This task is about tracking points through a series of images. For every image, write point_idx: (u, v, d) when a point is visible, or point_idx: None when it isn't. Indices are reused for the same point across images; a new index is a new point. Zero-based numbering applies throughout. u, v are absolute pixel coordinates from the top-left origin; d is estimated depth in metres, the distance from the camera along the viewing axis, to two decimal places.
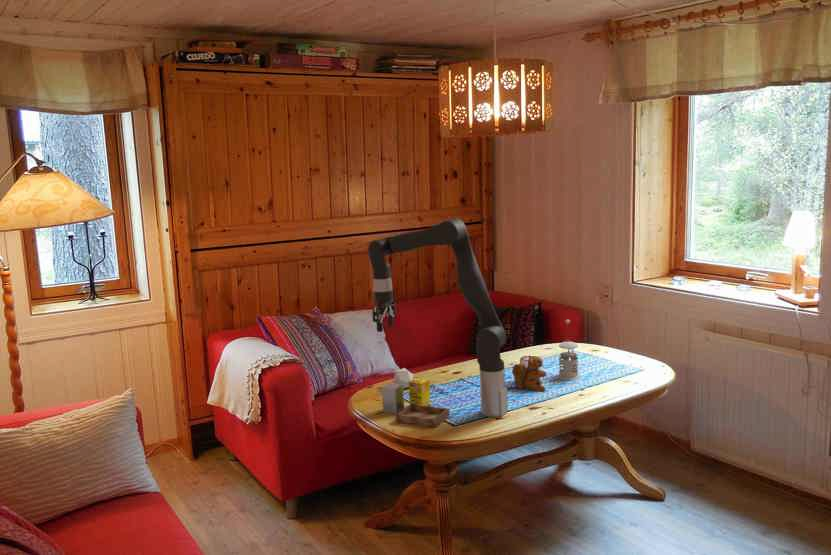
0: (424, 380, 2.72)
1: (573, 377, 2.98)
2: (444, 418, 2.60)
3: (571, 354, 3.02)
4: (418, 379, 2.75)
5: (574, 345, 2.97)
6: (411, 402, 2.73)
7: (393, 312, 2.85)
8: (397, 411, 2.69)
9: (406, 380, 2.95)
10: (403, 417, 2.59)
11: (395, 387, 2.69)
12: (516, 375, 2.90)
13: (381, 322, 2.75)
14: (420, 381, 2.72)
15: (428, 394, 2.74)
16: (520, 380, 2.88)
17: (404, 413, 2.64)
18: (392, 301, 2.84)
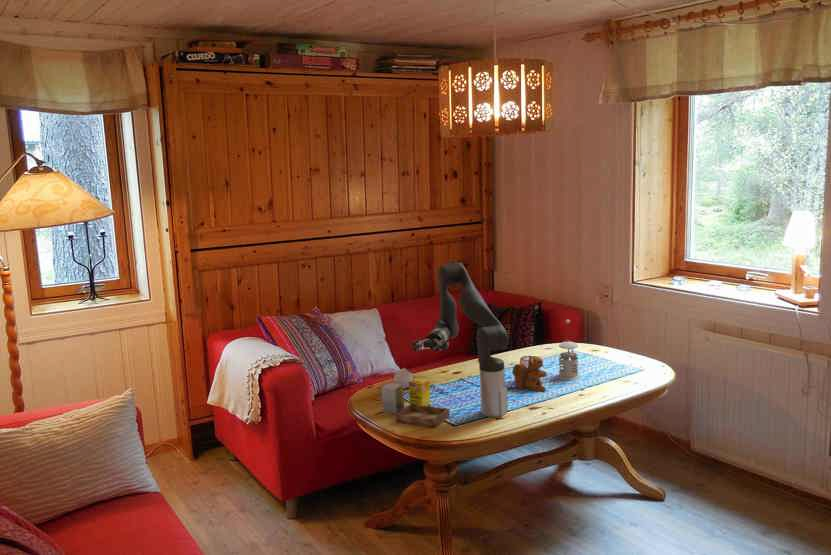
0: (424, 380, 2.72)
1: (573, 377, 2.98)
2: (444, 418, 2.60)
3: (571, 354, 3.02)
4: (418, 379, 2.75)
5: (574, 345, 2.97)
6: (411, 402, 2.73)
7: None
8: (397, 411, 2.69)
9: (406, 380, 2.95)
10: (403, 417, 2.59)
11: (395, 387, 2.69)
12: (516, 375, 2.89)
13: (417, 343, 2.87)
14: (420, 381, 2.72)
15: (428, 394, 2.74)
16: (520, 380, 2.88)
17: (404, 413, 2.64)
18: None
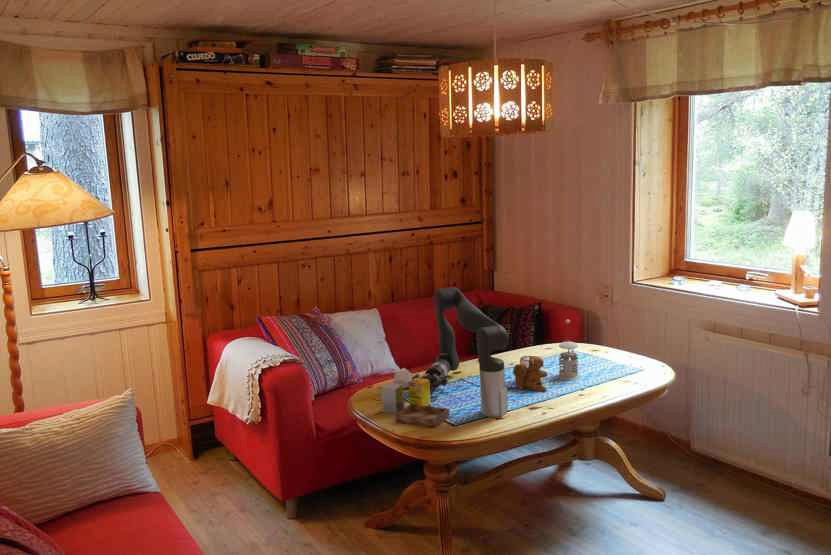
0: (424, 380, 2.72)
1: (573, 377, 2.98)
2: (444, 418, 2.60)
3: (571, 354, 3.02)
4: (418, 379, 2.75)
5: (574, 345, 2.97)
6: (411, 402, 2.73)
7: None
8: (397, 411, 2.69)
9: (406, 380, 2.95)
10: (403, 417, 2.59)
11: (395, 387, 2.69)
12: (517, 375, 2.89)
13: None
14: (420, 381, 2.72)
15: (428, 394, 2.74)
16: (521, 380, 2.88)
17: (404, 413, 2.64)
18: None
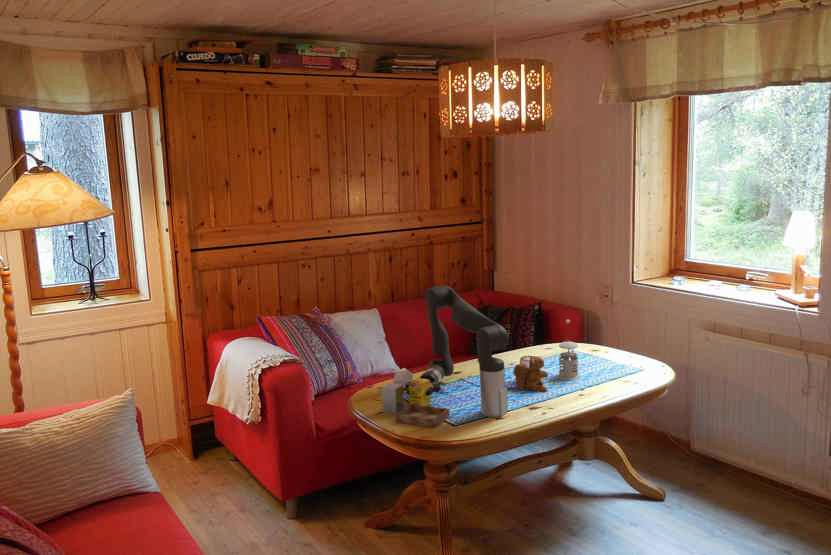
0: (424, 380, 2.72)
1: (573, 377, 2.98)
2: (444, 418, 2.60)
3: (571, 354, 3.02)
4: (418, 378, 2.75)
5: (574, 345, 2.97)
6: (411, 402, 2.73)
7: None
8: (397, 411, 2.69)
9: (406, 380, 2.95)
10: (403, 417, 2.59)
11: (395, 387, 2.69)
12: (517, 376, 2.89)
13: None
14: (420, 381, 2.72)
15: None
16: (522, 381, 2.87)
17: (404, 413, 2.64)
18: None
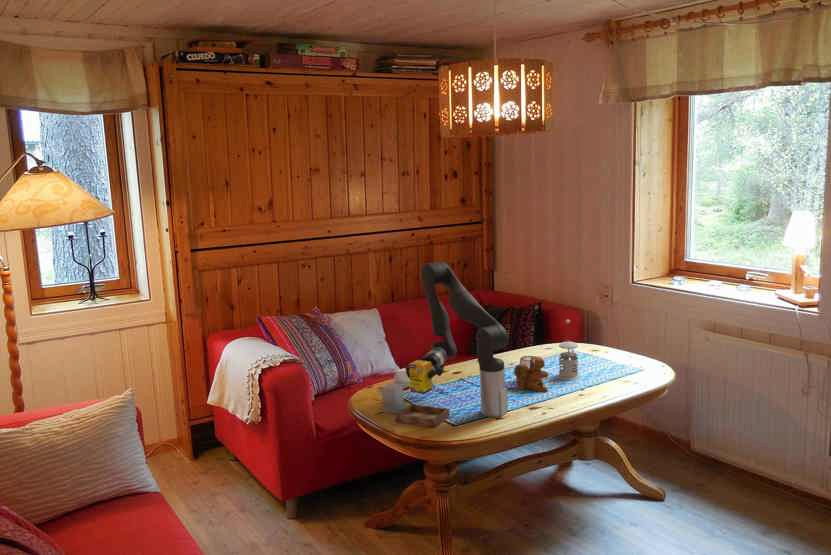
0: (425, 363, 2.57)
1: (573, 377, 2.98)
2: (444, 418, 2.60)
3: (571, 354, 3.02)
4: (419, 361, 2.60)
5: (574, 345, 2.97)
6: (412, 385, 2.59)
7: None
8: (397, 411, 2.69)
9: (406, 380, 2.95)
10: (403, 417, 2.59)
11: (395, 387, 2.69)
12: (518, 376, 2.88)
13: None
14: (421, 363, 2.57)
15: None
16: (522, 381, 2.87)
17: (404, 413, 2.64)
18: None
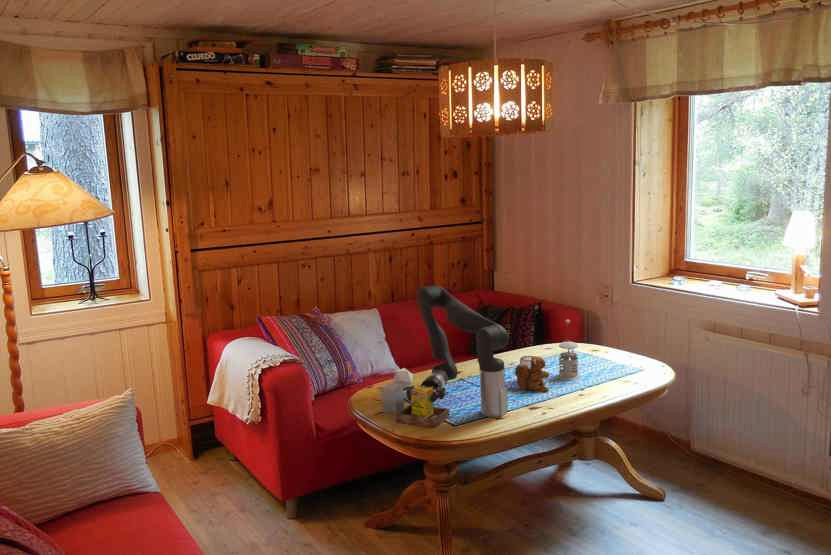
0: (427, 389, 2.59)
1: (573, 377, 2.98)
2: (444, 418, 2.60)
3: (571, 354, 3.02)
4: (421, 387, 2.62)
5: (574, 345, 2.97)
6: (413, 412, 2.60)
7: None
8: (397, 411, 2.69)
9: (406, 380, 2.95)
10: (403, 417, 2.59)
11: (395, 387, 2.69)
12: (519, 376, 2.88)
13: None
14: (423, 390, 2.59)
15: (432, 403, 2.61)
16: (523, 381, 2.87)
17: (404, 413, 2.64)
18: None
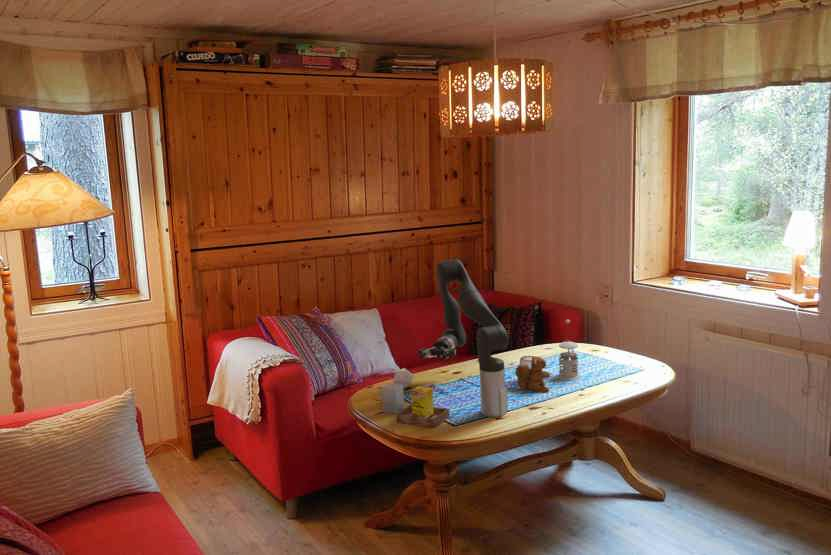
0: (427, 389, 2.59)
1: (573, 377, 2.98)
2: (444, 418, 2.60)
3: (571, 354, 3.02)
4: (421, 387, 2.62)
5: (574, 345, 2.97)
6: (413, 412, 2.60)
7: None
8: (397, 411, 2.69)
9: (406, 380, 2.95)
10: (403, 417, 2.59)
11: (395, 387, 2.69)
12: (519, 376, 2.88)
13: (423, 351, 2.78)
14: (423, 390, 2.59)
15: (432, 403, 2.61)
16: (524, 381, 2.86)
17: (404, 413, 2.64)
18: None
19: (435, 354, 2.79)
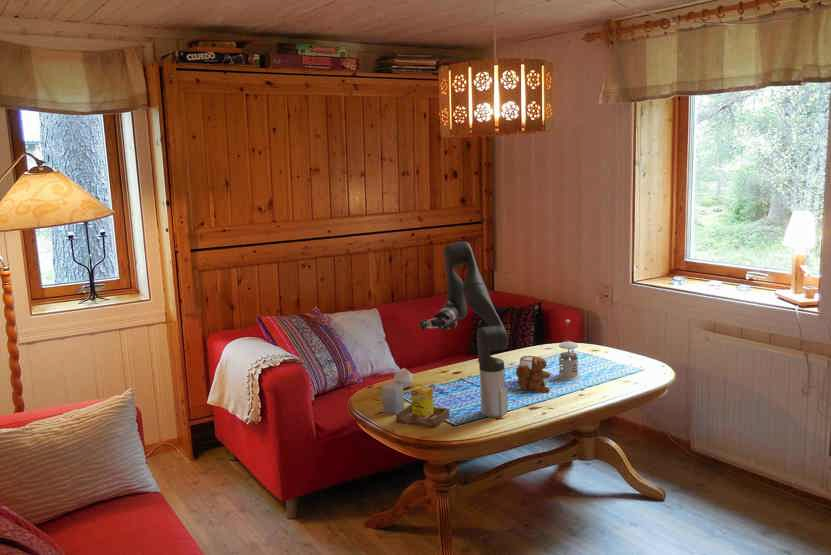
0: (427, 389, 2.59)
1: (573, 377, 2.98)
2: (444, 418, 2.60)
3: (571, 354, 3.02)
4: (421, 387, 2.62)
5: (574, 345, 2.97)
6: (413, 412, 2.60)
7: None
8: (397, 411, 2.69)
9: (406, 380, 2.95)
10: (403, 417, 2.59)
11: (395, 387, 2.69)
12: (520, 376, 2.88)
13: (424, 322, 2.80)
14: (423, 390, 2.59)
15: (432, 403, 2.61)
16: (524, 381, 2.86)
17: (404, 413, 2.64)
18: None
19: (436, 325, 2.81)
